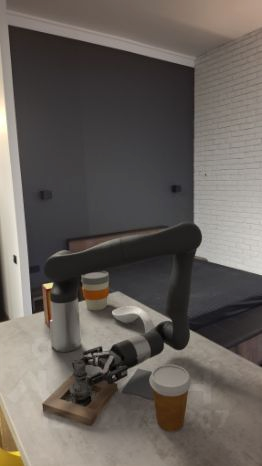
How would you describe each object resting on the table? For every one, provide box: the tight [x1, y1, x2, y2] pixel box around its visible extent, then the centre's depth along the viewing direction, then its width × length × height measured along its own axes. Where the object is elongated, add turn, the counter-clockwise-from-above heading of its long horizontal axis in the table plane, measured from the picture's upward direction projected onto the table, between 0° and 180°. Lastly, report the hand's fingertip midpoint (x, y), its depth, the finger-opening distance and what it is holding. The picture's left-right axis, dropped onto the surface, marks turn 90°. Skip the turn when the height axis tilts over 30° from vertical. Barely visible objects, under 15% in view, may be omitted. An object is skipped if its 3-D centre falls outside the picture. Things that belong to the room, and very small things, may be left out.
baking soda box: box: [41, 282, 53, 328], centre depth 130 cm, size 10×6×16 cm
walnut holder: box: [42, 372, 119, 427], centre depth 84 cm, size 14×14×2 cm
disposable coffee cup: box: [149, 364, 192, 433], centre depth 75 cm, size 10×10×12 cm
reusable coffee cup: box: [80, 270, 110, 311], centre depth 144 cm, size 13×13×15 cm
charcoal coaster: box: [121, 368, 154, 402], centre depth 89 cm, size 11×11×1 cm
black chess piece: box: [70, 357, 93, 407], centre depth 83 cm, size 6×6×12 cm
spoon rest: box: [111, 305, 156, 334], centre depth 126 cm, size 24×12×7 cm, turn 32°
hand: (80, 373), depth 83 cm, fingers open, 8 cm apart
